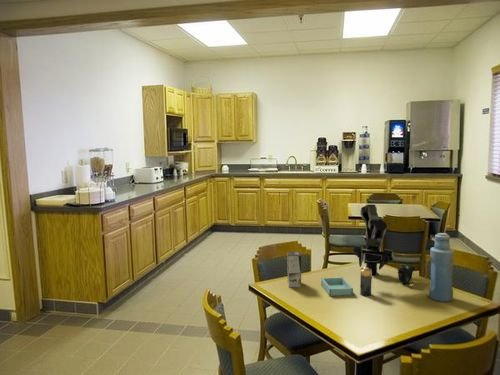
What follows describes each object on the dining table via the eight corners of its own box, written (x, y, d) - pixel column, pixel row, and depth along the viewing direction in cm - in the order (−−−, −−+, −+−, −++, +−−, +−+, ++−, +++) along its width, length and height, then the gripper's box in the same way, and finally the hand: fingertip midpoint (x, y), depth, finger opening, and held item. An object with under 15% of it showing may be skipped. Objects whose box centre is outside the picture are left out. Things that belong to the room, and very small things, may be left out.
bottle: (455, 303, 176) (458, 236, 173) (431, 301, 178) (433, 235, 175) (449, 295, 185) (451, 231, 182) (426, 293, 187) (428, 231, 184)
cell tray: (321, 284, 201) (321, 278, 201) (342, 284, 202) (342, 277, 201) (329, 296, 185) (329, 289, 185) (352, 295, 186) (352, 288, 185)
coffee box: (301, 287, 198) (301, 255, 196) (288, 287, 198) (288, 255, 196) (299, 281, 207) (299, 251, 205) (287, 281, 207) (287, 251, 205)
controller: (395, 284, 200) (396, 265, 199) (407, 278, 208) (408, 260, 207) (404, 286, 197) (404, 266, 196) (415, 280, 205) (416, 262, 204)
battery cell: (358, 292, 190) (358, 266, 188) (369, 292, 190) (369, 265, 189) (362, 296, 184) (362, 269, 183) (373, 296, 185) (373, 268, 184)
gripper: (354, 229, 198) (346, 256, 190) (393, 233, 188) (386, 261, 180) (359, 242, 206) (351, 268, 197) (396, 246, 195) (390, 274, 187)
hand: (369, 267), depth 190 cm, fingers open, 9 cm apart
